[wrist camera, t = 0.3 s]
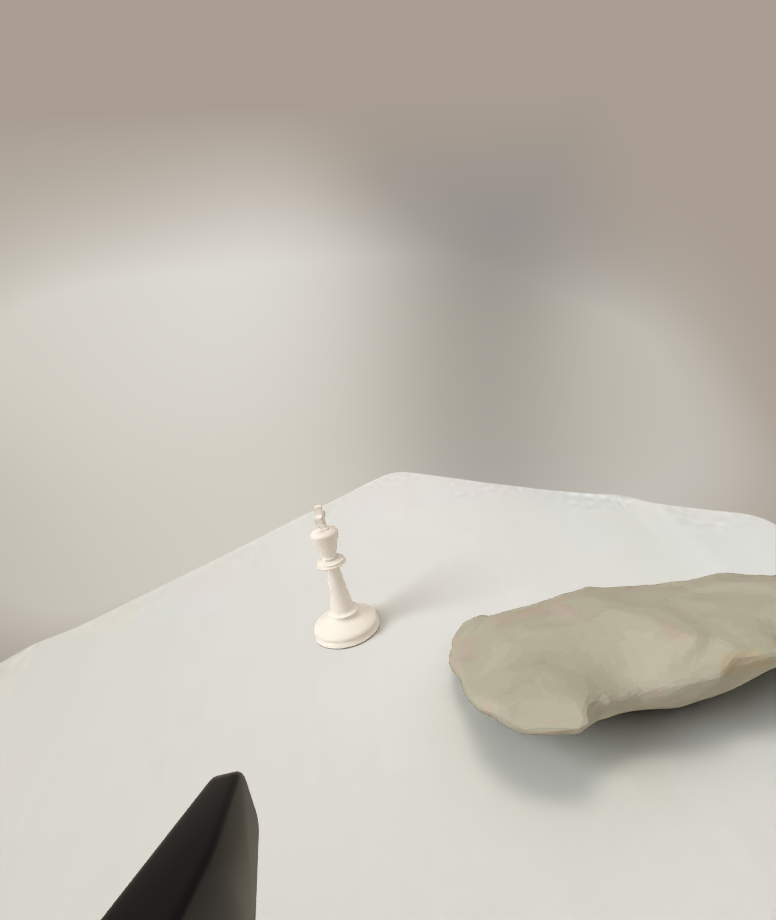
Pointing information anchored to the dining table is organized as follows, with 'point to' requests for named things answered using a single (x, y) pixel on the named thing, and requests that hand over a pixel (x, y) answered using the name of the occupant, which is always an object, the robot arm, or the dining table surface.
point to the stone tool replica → (616, 651)
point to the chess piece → (339, 595)
